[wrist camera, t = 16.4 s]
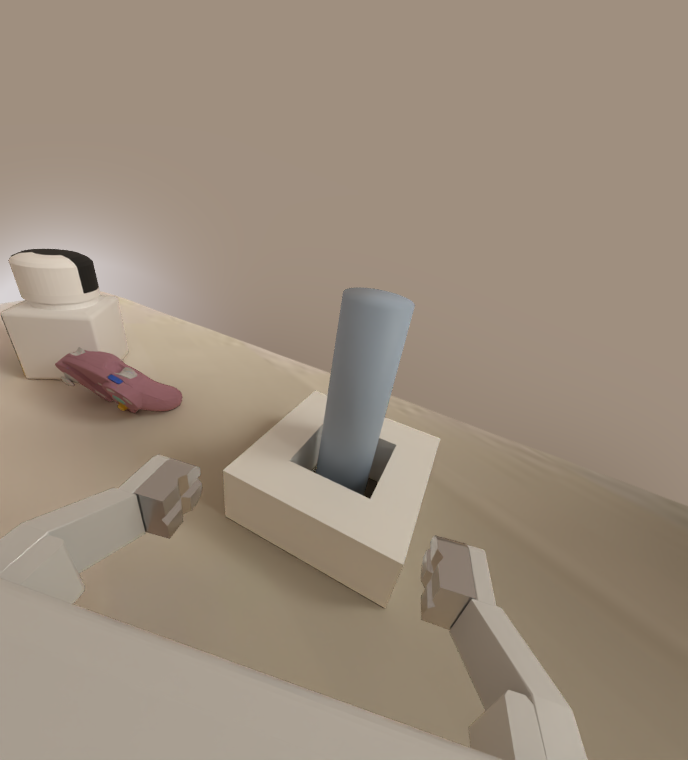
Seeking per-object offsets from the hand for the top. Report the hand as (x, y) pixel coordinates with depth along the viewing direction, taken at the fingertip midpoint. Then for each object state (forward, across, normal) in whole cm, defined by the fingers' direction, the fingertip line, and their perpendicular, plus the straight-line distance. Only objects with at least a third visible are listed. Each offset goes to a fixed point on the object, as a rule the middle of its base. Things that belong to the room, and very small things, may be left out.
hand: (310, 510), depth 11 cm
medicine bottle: (+18, +32, +12) cm, 38 cm away
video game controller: (+14, +22, +12) cm, 29 cm away
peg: (+11, 0, +11) cm, 15 cm away
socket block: (+11, 0, +11) cm, 15 cm away
